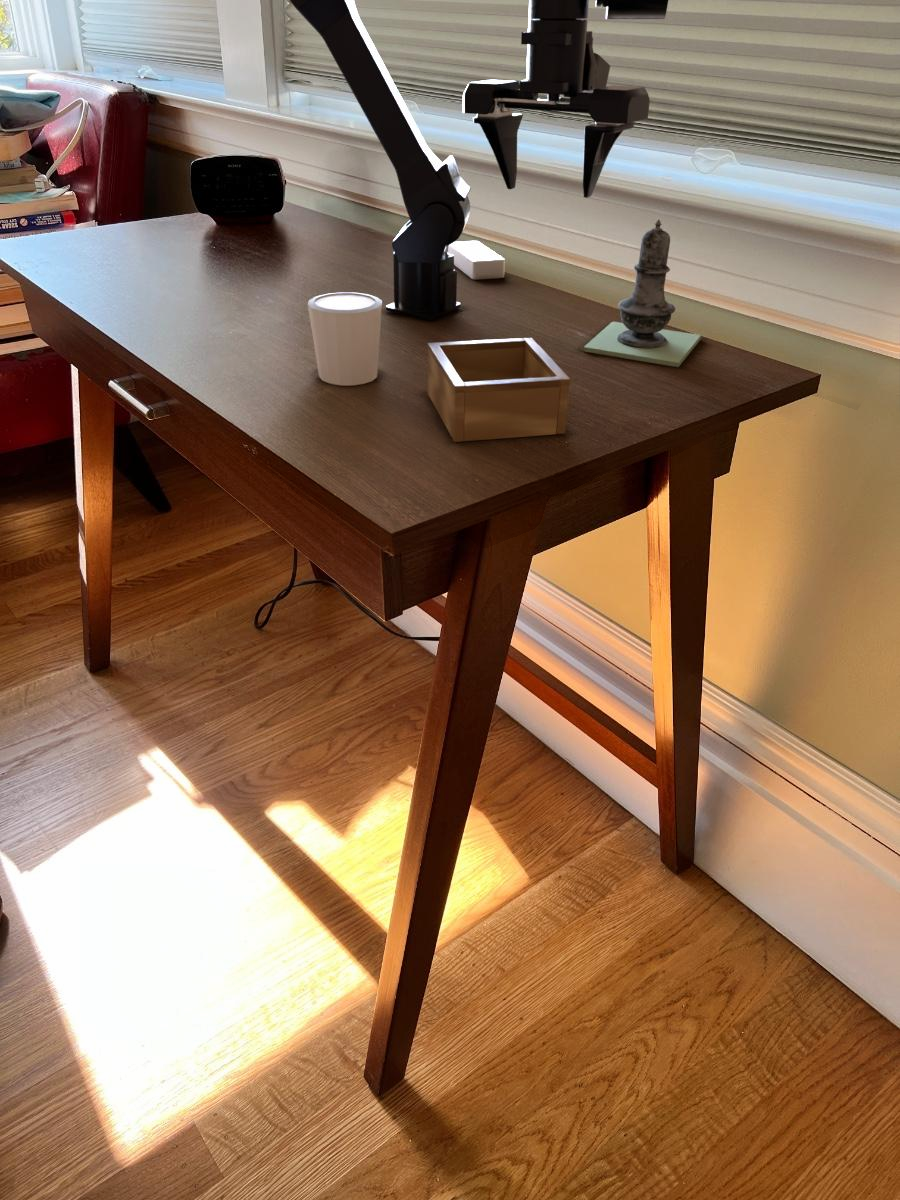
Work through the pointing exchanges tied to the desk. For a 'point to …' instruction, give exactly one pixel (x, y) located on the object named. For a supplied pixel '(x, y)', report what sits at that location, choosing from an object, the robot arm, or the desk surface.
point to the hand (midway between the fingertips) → (548, 192)
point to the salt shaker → (648, 294)
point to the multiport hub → (477, 260)
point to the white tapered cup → (346, 336)
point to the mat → (665, 355)
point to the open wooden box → (497, 389)
